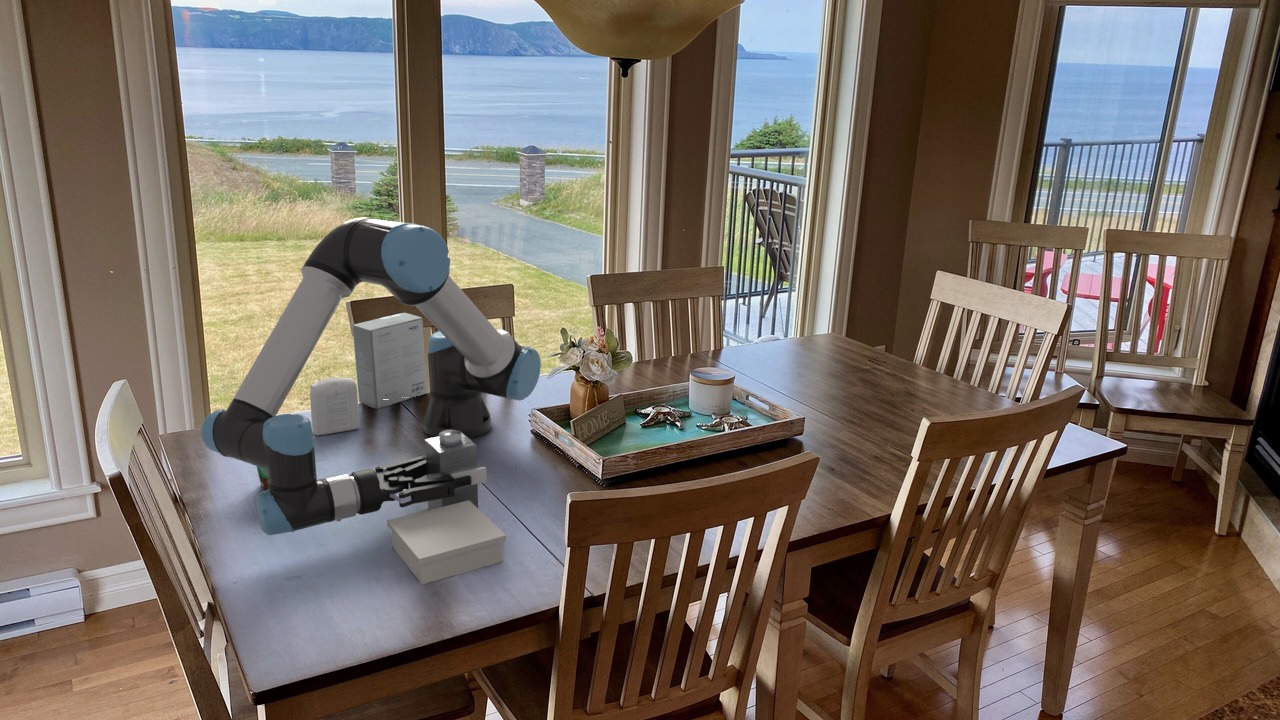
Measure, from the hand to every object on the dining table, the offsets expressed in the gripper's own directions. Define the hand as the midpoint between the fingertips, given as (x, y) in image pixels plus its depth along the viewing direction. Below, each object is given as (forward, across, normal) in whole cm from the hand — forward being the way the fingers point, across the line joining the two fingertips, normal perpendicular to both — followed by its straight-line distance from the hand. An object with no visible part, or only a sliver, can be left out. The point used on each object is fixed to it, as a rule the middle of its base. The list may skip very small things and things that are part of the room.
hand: (476, 466), depth 170 cm
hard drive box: (+6, -64, -8) cm, 65 cm away
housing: (-5, 0, -8) cm, 9 cm away
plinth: (-12, +14, -8) cm, 20 cm away
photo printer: (-12, -50, -8) cm, 52 cm away
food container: (-29, -25, -8) cm, 39 cm away
